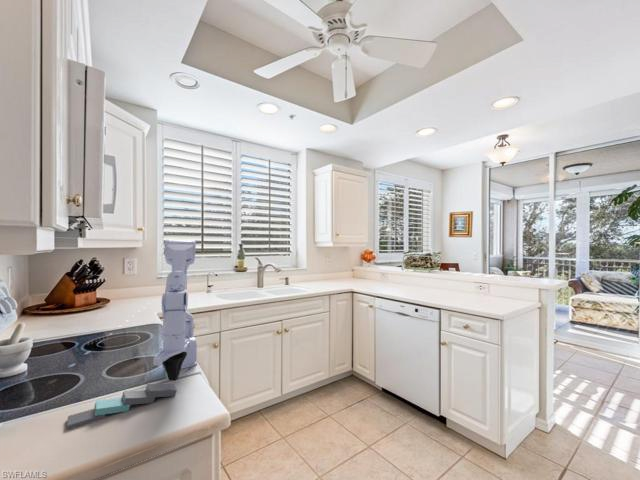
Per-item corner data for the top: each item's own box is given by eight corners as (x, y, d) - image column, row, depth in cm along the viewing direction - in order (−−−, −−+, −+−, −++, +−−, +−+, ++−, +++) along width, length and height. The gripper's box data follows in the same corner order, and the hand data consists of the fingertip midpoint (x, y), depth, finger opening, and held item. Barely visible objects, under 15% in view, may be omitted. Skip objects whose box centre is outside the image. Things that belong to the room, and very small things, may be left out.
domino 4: (173, 383, 85) (147, 384, 80) (176, 390, 81) (150, 390, 77) (171, 389, 84) (145, 390, 80) (175, 396, 81) (148, 397, 77)
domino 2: (128, 396, 77) (96, 400, 73) (130, 404, 74) (96, 409, 70) (126, 402, 77) (94, 407, 73) (128, 410, 74) (94, 415, 69)
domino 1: (103, 405, 74) (67, 416, 69) (104, 414, 71) (67, 425, 66) (103, 412, 74) (67, 422, 70) (104, 420, 71) (67, 432, 66)
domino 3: (152, 390, 81) (123, 390, 77) (155, 396, 78) (126, 398, 73) (150, 395, 81) (121, 397, 76) (153, 403, 77) (123, 404, 73)
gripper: (177, 324, 90) (176, 366, 90) (143, 340, 76) (142, 391, 76) (198, 325, 89) (196, 368, 89) (167, 342, 75) (166, 394, 75)
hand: (173, 379), depth 82 cm, fingers closed
